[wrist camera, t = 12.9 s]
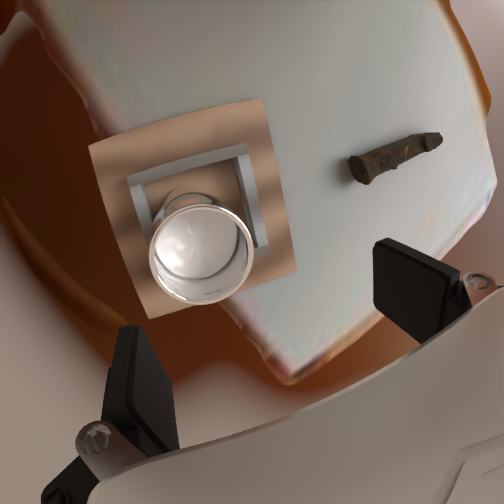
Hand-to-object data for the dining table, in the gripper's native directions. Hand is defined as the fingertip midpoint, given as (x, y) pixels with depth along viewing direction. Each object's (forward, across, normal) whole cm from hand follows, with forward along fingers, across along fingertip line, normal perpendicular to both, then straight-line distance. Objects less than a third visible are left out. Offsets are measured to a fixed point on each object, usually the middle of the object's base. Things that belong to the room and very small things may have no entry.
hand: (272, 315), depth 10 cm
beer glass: (+23, +2, 0) cm, 23 cm away
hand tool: (+25, -30, -2) cm, 39 cm away
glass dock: (+24, 0, 0) cm, 24 cm away
